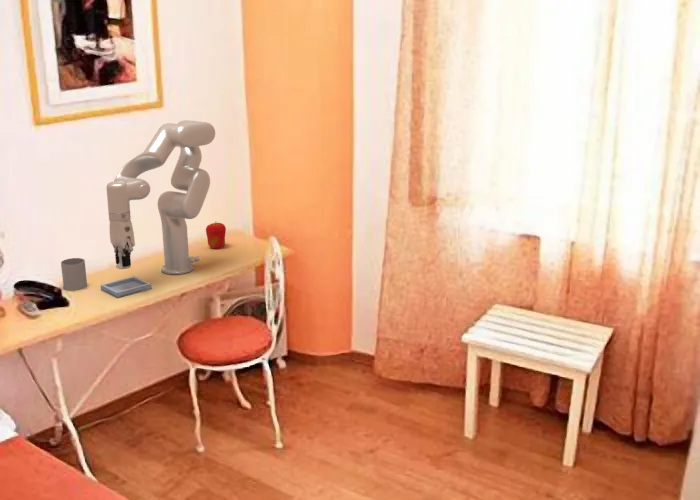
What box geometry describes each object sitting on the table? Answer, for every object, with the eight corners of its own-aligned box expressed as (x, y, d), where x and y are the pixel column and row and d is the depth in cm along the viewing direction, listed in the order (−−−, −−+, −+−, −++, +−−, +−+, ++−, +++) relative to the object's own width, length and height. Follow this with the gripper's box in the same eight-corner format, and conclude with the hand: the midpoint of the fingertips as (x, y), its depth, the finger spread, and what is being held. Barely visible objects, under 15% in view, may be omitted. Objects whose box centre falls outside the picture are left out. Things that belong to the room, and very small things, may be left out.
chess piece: (134, 266, 299) (132, 242, 296) (125, 270, 294) (123, 246, 292) (121, 264, 301) (120, 241, 298) (112, 268, 296) (110, 244, 293)
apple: (218, 243, 356) (217, 217, 353) (230, 247, 351) (229, 220, 348) (202, 247, 350) (201, 221, 347) (215, 251, 345) (213, 224, 342)
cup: (79, 291, 298) (77, 265, 296) (59, 290, 300) (56, 264, 297) (91, 283, 306) (88, 258, 303) (71, 282, 308) (68, 257, 305)
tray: (134, 281, 309) (134, 276, 308) (151, 288, 301) (151, 283, 300) (101, 290, 300) (100, 284, 299) (117, 298, 292) (117, 292, 291)
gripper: (141, 218, 289) (144, 267, 294) (117, 210, 300) (121, 257, 305) (122, 222, 284) (125, 271, 289) (98, 213, 295) (102, 261, 300)
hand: (123, 264), depth 297 cm, fingers closed on chess piece, 3 cm apart
